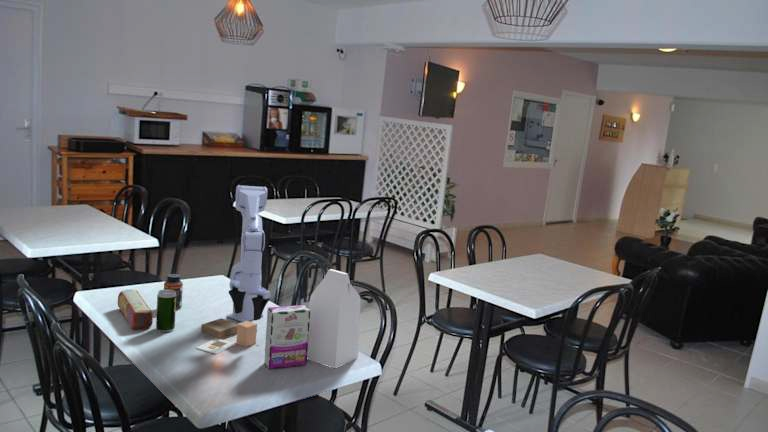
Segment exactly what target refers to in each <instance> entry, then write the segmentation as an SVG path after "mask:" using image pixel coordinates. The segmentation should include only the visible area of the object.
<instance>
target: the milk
mask: <svg viewBox="0 0 768 432" xmlns="http://www.w3.org/2000/svg"><path fill="white" fill-rule="evenodd" d="M361 303H362V302H361V295H360V293H358V291H357V290H356V289H355V287H354V286H353V285H352V284H351V280H350V276H349V273H347V272H344V271H340V270H336V269H333V268H330V269H328V270H327V272H326V273H325V276H324V278H323V279H322V280H321V281H320V283H318V285H317V286H316V288H315V289H314V290H313V292H312V293H311V295H310V297H309V303H308V308H309V309H310V325H309V337H308V352H307V358H308V359H307V360H309V359H310V360H309V361H312V360H313V361H312V362H314V361H316V362H315V363H317V362H319V363H322V364H325V365H328V366H331V367H333V368H336V367H338V366H340V365H342V364H344V363H346V364H348V363H350V362H352V361H353V359H354V360H356V359H358V358H359V345H360V344H359V343H360V342H359V341H360V321H361ZM357 357H358V358H357ZM355 358H356V359H355ZM351 360H352V361H351ZM349 361H350V362H349ZM347 362H348V363H347ZM319 363H318V364H319ZM322 364H321V365H322ZM325 365H324V366H325ZM344 365H345V364H344ZM342 366H343V365H342ZM333 368H332V369H333Z"/></svg>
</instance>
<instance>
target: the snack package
mask: <svg viewBox="0 0 768 432" xmlns="http://www.w3.org/2000/svg"><path fill="white" fill-rule="evenodd" d="M117 307H118V308H119V309H120V311H121V312H122V314H123V316H124V317H125V318H126V320H127V322H128V323H129V325H130V327H131V328H132V330H134V331H141V330H148V329H150V328H151V327H152V325H153V317H154V314H153V311H152V309H151V308H150V307H149V306H148V304H147V302H146V301H145V300H144V298H143V297H142V296H141V294H140V292H139V291H138V290H136V289H132V288H131V289H128V288H127V289H124V290H122V291H119V293H118V295H117Z"/></svg>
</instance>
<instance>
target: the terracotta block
mask: <svg viewBox="0 0 768 432" xmlns="http://www.w3.org/2000/svg"><path fill="white" fill-rule="evenodd" d="M236 324H237V334H236V341H235V343H236V344H238V345H240V346H243V347H246V348H247V347H249V346H252V345H254V344H256V342H257V329H258V327H257V326H258V324H257V323H254V322H252V321H245V322H239V323H236Z"/></svg>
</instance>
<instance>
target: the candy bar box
mask: <svg viewBox="0 0 768 432" xmlns="http://www.w3.org/2000/svg"><path fill="white" fill-rule="evenodd" d="M266 314H267V315H266V330H265V331H266V332H265V344H264V345H265V347H264V364H265V365H266V367H267V369H269V370H276V369H284V368H285V367H286V368H294V367H300V366H307V364H308V359H307V352H308V337H309V325H310V309H309V306H308V307H307V305H305V304H300V305H285V306H271V307H267V311H266Z"/></svg>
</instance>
